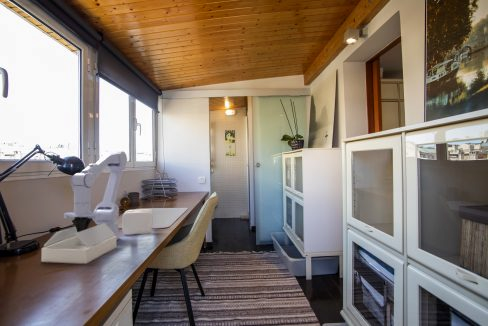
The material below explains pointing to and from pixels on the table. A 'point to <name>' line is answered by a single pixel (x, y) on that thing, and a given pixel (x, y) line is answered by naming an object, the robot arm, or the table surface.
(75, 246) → the carton
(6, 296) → the table surface
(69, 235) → the flap
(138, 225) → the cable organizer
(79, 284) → the table surface
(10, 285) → the table surface
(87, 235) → the flap
